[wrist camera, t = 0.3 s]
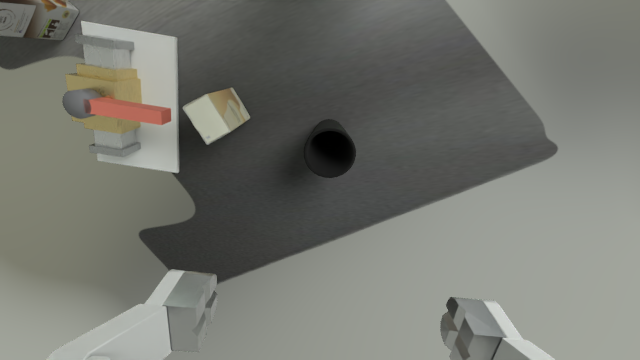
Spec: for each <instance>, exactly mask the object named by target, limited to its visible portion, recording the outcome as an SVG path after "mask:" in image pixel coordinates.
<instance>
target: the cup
mask: <svg viewBox="0 0 640 360" xmlns="http://www.w3.org/2000/svg"><path fill="white" fill-rule="evenodd" d="M355 157H356V149H355V145H354V143H353V141H352V139H351V138H350V136H349V135H348V134H347V132H346V131H345V130H344V128H343V127H342V126H341V125H340V124H339V123H338V122H337V121H335V120H329V119H328V120H324V121H321V122H320V123H319V124H318V125H317V126H316V128H315V129H314V131H313V132H312V134H311V136H310V137H309V139H308V140H307V142H306V145H305V148H304V158H305V161H306V164H307V166H308V167H309V169H310V170H311V171H313V172H314V173H315V174H317V175H319V176H322V177H326V178H333V177H338V176H340V175H343V174H344V173H346V172H347V171H348V170H349V169H350V168H351V167H352V165H353V163H354V160H355Z"/></svg>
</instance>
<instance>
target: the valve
mask: <svg viewBox="0 0 640 360" xmlns="http://www.w3.org/2000/svg"><path fill="white" fill-rule="evenodd" d="M75 42H76V43H81V44H83V50H84V58H85V63H84V64H76V67H77V73H74V74H66V82H67V89H68V91H71V90H79V89H86V88H90V89H94V90H96V91H97V92H99V93H100V94H101V96H102V97H104V98H111V99H117V100H123V101H129V102H135V103H141V104H142V95H141V79H139V78H138V77H137V69H134V68H131V59H130V50H135V48H134V42H132V41H126V40H120V39H114V38H108V37H102V36H94V35H83V34H75ZM72 121H77V122H83V123H84V127H85V128H87V129H93V131H94V139H95V144H92V145H90V146H89V148H90V152H91V153H98V154H104V155H111V156H117V157H125V156H127V155H129V154H131V153H133V152H135V151H137V150H139V149H141V143H140V142H136V131H135V129H136V128H139V127H141V125H140V122H138V121H132V120H126V119H119V118H113V117H107V116H101V115H96V116H92V117H88V118H84V119H78V118H75V117H73V116H72Z"/></svg>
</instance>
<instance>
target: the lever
mask: <svg viewBox="0 0 640 360" xmlns="http://www.w3.org/2000/svg"><path fill="white" fill-rule="evenodd" d="M63 106H64V108H65V110H66V111H67V112H68V113H69V114H70V115H71V116H73V117H75V118H78V119H84V118H88V117H92V116H96V115H101V116H107V117H113V118H119V119H126V120H132V121H138V122H144V123H151V124H157V125H163V124H166V123H168V122H171V108H166V107H160V106H154V105H147V104H141V103H135V102H129V101H123V100H117V99H111V98H104V97H102V96H101V94H100V93H99V92H97V91H96V90H94V89H90V88H86V89H79V90H71V91H68V92H66V93H65V94H64V96H63Z"/></svg>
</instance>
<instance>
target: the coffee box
mask: <svg viewBox="0 0 640 360" xmlns="http://www.w3.org/2000/svg"><path fill="white" fill-rule="evenodd" d="M78 14H79V11H78V9H77V8H75V7H74V6H73V5H72V4H71V3H70V2H69V1H68V0H0V36H9V37H23V38H37V39H51V40H63V39H64V38H65V36H66V34H67V32H68V31H69V29H70V27H71V26H72V24H73V22H74V20H75V19H76V17H77V15H78Z"/></svg>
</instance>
